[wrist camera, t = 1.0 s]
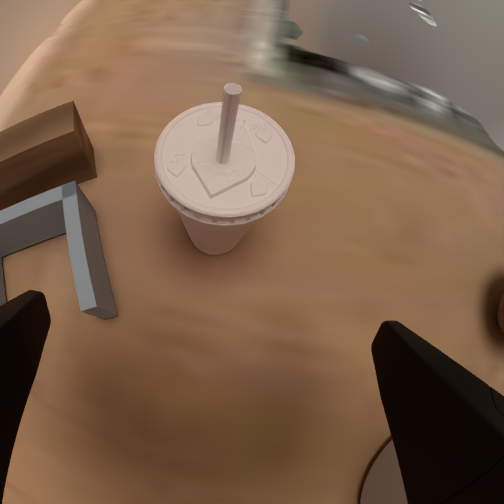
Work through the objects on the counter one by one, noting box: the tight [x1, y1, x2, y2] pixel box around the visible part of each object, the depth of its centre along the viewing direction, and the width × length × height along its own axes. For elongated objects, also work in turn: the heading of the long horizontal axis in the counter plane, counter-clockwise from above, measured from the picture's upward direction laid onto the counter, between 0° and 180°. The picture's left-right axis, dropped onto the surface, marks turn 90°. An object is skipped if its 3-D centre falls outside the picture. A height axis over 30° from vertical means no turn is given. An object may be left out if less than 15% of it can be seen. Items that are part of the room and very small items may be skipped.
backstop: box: [0, 101, 97, 211], centre depth 18 cm, size 3×11×6 cm, turn 110°
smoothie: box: [154, 83, 295, 255], centre depth 16 cm, size 6×6×14 cm
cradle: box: [0, 181, 118, 319], centre depth 17 cm, size 8×10×4 cm
